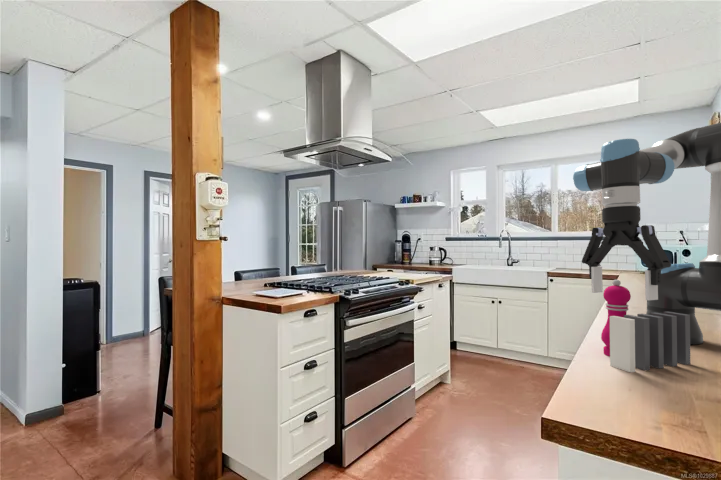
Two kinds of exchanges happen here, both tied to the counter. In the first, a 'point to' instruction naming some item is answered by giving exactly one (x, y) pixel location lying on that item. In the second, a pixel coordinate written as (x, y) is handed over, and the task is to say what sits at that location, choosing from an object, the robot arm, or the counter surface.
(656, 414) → the counter surface
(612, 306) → the pepper mill
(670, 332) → the domino
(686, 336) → the domino
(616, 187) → the robot arm
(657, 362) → the domino
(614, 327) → the white domino
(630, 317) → the domino
